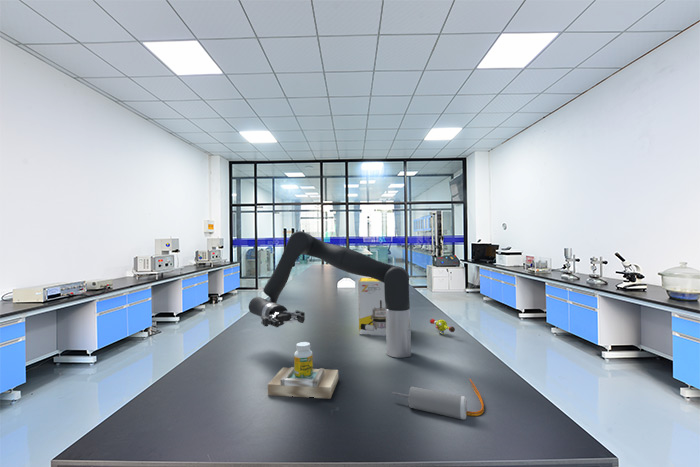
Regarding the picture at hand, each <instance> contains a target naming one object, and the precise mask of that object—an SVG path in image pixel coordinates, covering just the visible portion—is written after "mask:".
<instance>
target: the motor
mask: <svg viewBox="0 0 700 467" xmlns="http://www.w3.org/2000/svg"><path fill="white" fill-rule="evenodd" d="M468 380H469V381H470V385H471V387H472V389H473V391H474V393H475V394H476V396H477V397H478V401H480V405H481V409H480V410H478V411H469V410H468V401H467V400H468V399H467V397H466V396H463V395H459V394H455V393H454V394H453V393H449V392H448V393H447V392H443V391H437V390H432V389H427V388H421V387H416V386H411V387H410V388H409V392H408V394H405V393H401V392H396V391H395V392H394V391H392V392H391V395H393V396H398V397H402V398H407V399H408V401H407V402H408V406H409V408H410V409H414V410H419V411H423V412H428V413H431V414H436V415H440V416H441V415H442V416H446V417H450V418H453V419H454V418H455V419H458V420H462V421H463V420H466V419H467V416H469V417H470V416H471V417H478V416H481V415H483V413H484V412H485V404H484V401H483V398H482V395H481V393H480V392H479V390H478V388H477V387H476V385H475V383H474V382H473V380H472V379H471V378H470V377H469V378H468Z"/></svg>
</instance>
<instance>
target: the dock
mask: <svg viewBox="0 0 700 467" xmlns="http://www.w3.org/2000/svg"><path fill="white" fill-rule="evenodd" d="M338 382H339V369H328V368H327V369H325V368H323V367H320V368H313V376H312V377H311V378H310V379H296V378H295V370H294V366H291V367H282V368H281V369H280V370H279V371H278V372H277V373H276V374H275V376H274V377H273V378H272V379H271V380H270V381H269V382H268V383H267V395H268V396H278V397H292V396H293V397H296V398H309V397H314V398H313V399H329V400H330V399H331V398H332V396H333V394H334V393H335V392H334V391H335V390H336V386H337V384H338Z"/></svg>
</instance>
